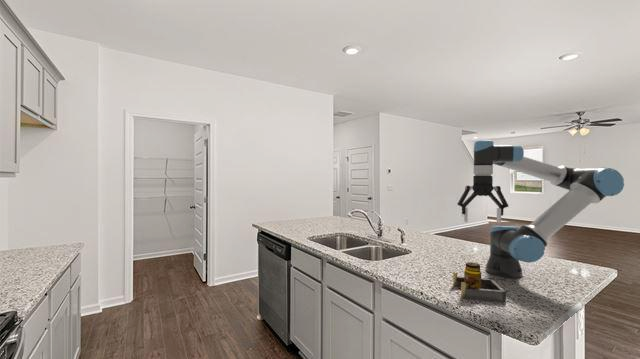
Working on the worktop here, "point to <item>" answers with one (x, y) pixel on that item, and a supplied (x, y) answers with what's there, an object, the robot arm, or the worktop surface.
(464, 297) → the grey open rectangular box
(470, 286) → the condiment
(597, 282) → the worktop surface
